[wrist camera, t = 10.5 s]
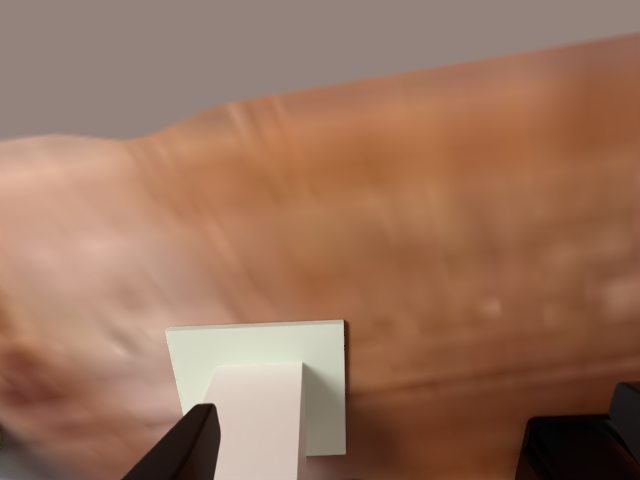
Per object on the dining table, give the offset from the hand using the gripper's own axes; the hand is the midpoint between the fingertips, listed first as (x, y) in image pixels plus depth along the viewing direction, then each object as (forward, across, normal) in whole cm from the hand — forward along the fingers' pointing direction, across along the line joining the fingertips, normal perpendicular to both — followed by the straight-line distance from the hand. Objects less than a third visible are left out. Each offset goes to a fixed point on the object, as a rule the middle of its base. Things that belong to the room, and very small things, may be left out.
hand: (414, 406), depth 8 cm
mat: (+11, +6, +10) cm, 16 cm away
